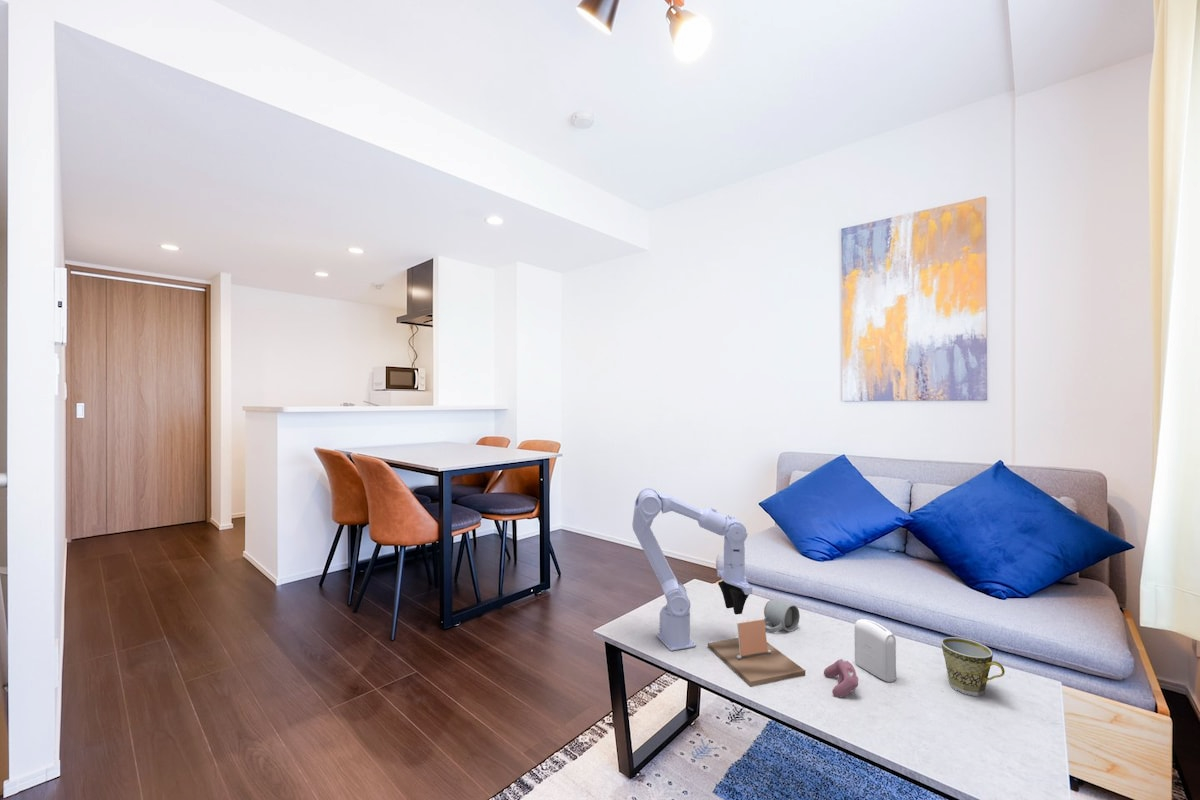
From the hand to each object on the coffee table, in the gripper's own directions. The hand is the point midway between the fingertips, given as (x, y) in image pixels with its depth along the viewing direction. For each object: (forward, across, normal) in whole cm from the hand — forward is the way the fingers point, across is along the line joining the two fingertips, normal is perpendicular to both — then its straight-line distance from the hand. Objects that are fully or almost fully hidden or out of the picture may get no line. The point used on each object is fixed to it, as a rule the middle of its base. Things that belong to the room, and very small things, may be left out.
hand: (733, 610), depth 142 cm
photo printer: (+10, -24, -26) cm, 36 cm away
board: (+9, -10, 0) cm, 13 cm away
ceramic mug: (+10, +4, -19) cm, 21 cm away
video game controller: (+10, -26, -13) cm, 31 cm away
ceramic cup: (+10, -38, -41) cm, 56 cm away
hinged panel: (+4, -8, 0) cm, 9 cm away
